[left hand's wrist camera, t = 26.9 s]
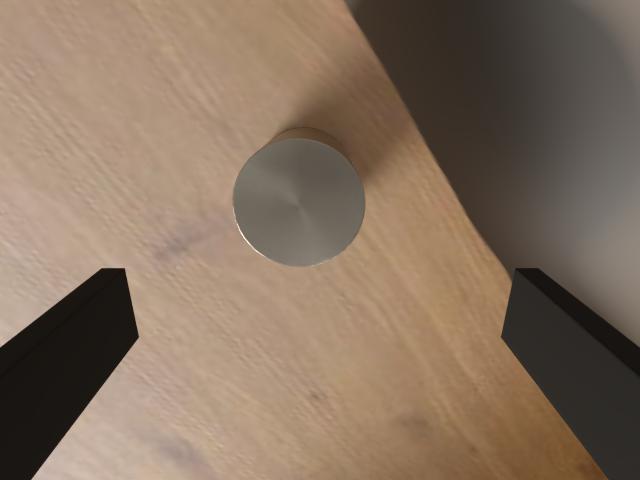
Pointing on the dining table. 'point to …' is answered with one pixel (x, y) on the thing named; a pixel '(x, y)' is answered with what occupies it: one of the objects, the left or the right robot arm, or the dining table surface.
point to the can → (299, 199)
